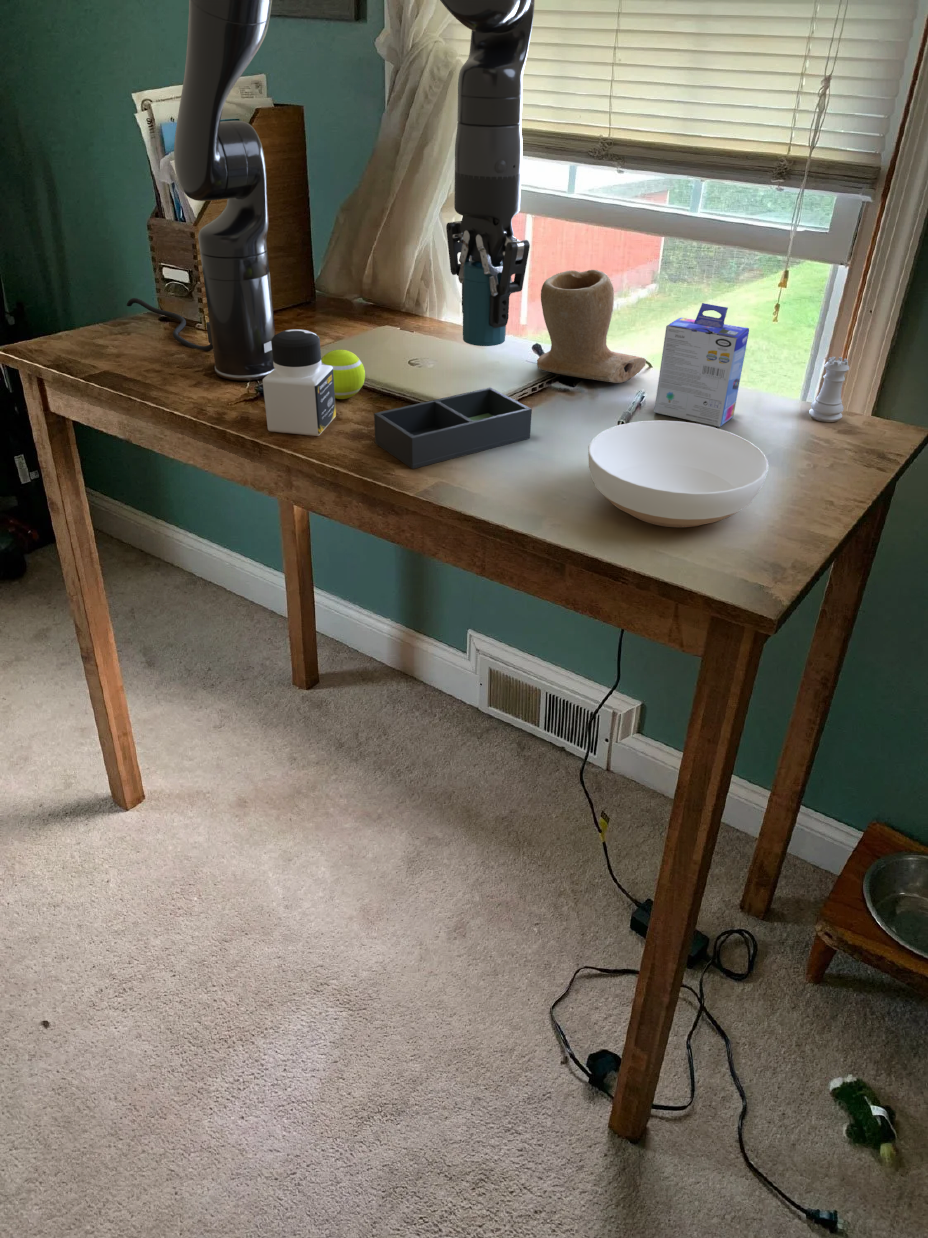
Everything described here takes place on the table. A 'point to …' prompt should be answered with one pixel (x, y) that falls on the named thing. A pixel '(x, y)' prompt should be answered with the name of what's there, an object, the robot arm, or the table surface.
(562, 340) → the clay platform pipe
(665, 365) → the ink cartridge box
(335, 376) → the tennis ball
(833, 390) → the rook chess piece
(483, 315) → the jar
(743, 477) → the bowl
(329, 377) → the medicine bottle
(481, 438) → the divided tray
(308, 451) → the table surface
